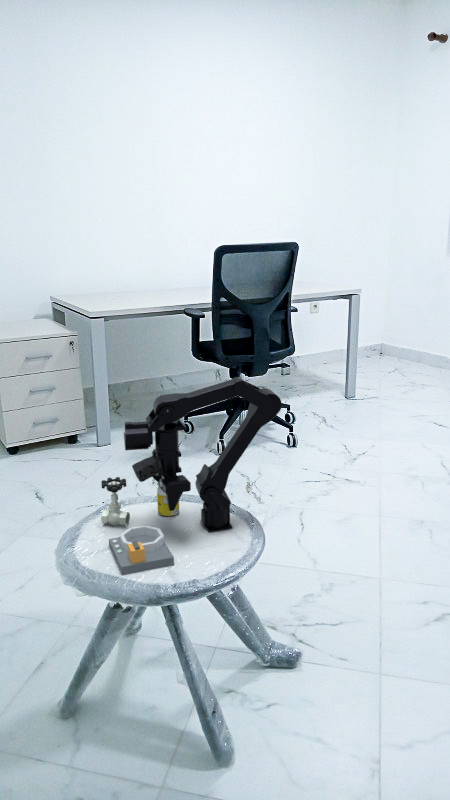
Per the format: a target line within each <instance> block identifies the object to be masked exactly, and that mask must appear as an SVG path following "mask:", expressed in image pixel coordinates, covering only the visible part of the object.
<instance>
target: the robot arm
mask: <svg viewBox="0 0 450 800" xmlns="http://www.w3.org/2000/svg"><path fill="white" fill-rule="evenodd" d="M238 397H240V398H241V399H244V400H245V401H247V403H249V404H248V408H247V411H246V415H245V418H244V419H243V421H242V423H240V424H239V427H238V428H237V429H236V431H235V432H234V434H233V436H232V437H231V438H230V439H229V441H228V442H227V444H226V446H225V447H224V449H223V450H222V452H221V453H220V454H219V456H218V458H217V459H216V461H215V462H214V463H212V464H211V465H209V466H208V465H207V464H206V463H205V464H203V466H202V467H201V469H200V471H199V472H198V474H196V475H195V477H196V480H195V489H196V491H197V493H198V496H199V497H200V500H201V501H202V508H201V509H200V516H201V518H200V523H201V525H202V526H203V527H204V528H205V529H206V531H207V532H208V533H212V532H219V531H224V530H228V529H229V530H230V529H233V525H232V524H231V518H230V517H231V505H232V504H231V503H232V501H231V499H230V497H229V496H228V494H227V492H226V490H225V489H226V487H227V485H228V479H229V475H230V474H231V472H232V470H233V469H234V468H235V466H236V464H237V463H238V462H239V460H240V459H241V457H242V456H243V454H244V453H245V451H246V450H247V449H248V447H249V446H250V444H251V443H252V441H253V439H254V438H255V437H256V435H257V434H258V433H259V431H260V429H261V428H262V427H264V426H265V425H267V424H269V423H270V422H271V421H272V420H273V419H274V418H275V417H276V416H277V415H278V414H279V413H280V412H281V410H282V408H283V404H282V400H281V397H279V396H278V395H277V394H276V393H275V392H274V391H273V390H271V389H270V388H268V387H267V388H266V387H263V388H260V387H259V386H256V385H255V384H253V383H250V382H248V381H245V380H244V379H243V378H242V377H239V376H235V377H233V378H231V379H229V380H226V381H222V382H219V383H215V384H212V385H210V386H207V387H204V388H199V389H197V390H194V391H189V392H185V393H182V392H181V393H179V392H177V393H176V392H175V393H168V394H161V395H159V396H157V397H156V399H155V400H154V401H153V405H152V407H153V408H152V409H151V411H150V412H149V414H148V415H147V417H145V421H125V422H124V432H123V441H124V451H126V452H127V451H139V450H149V448H151V447H152V445H154V444H155V445H154V446H155V449H154V448H153V450H152V451H151V453H152V454H151V456H149V457H146V458H144V459H142V460H140V461H137V462H136V463H133V464H132V465H131V467H132V470H133V473H134V474H135V477H136V478H137V479H138V480H137V481H139V482H140V483H143V482H145V481H147V480H149V479H151V478H153V479H154V480H155V481H157V485H158V488H159V487H160V478H162V477H163V480H162V487H160V488H161V489H162V491H163V492H165V493H166V496H167V501H168V506H169V510H170V511H173V510H174V509H175V507H176V505H177V503H178V501H179V502H180V499H181V496H182V495H183V493H185V492H190V491H191V490H192V488H191V487H192V485H191V483H192V482H191V481H190V480H189V479H188V478H187V477H186V476H185V475H183V474H180V473H183V472H182V471H183V470H182V467H181V466H180V458H181V457H182V452H181V451H180V450H179V449H180V447H179V431H185V430H187V426H186V424H185V422H182V421H181V419H182V418H184V417H186V416H187V415H188V414H190V413H191V412H193V411H195V410H198V409H202V408H204V407H207V406H211V405H214V404H218V403H221V402H224V401H227V400H230V399H233V398H238ZM153 434H154V437H153Z"/></svg>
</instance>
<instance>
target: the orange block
mask: <svg viewBox="0 0 450 800" xmlns="http://www.w3.org/2000/svg"><path fill="white" fill-rule="evenodd" d="M128 557H129V559H130V561H131V563H132V564H133V563H139V562H144V561H145V549H144V547H143V545H142V543H141V542H137V541H132V544H128Z"/></svg>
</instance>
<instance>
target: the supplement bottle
mask: <svg viewBox="0 0 450 800" xmlns="http://www.w3.org/2000/svg"><path fill="white" fill-rule="evenodd" d="M162 480H163V477H162V478H160V487H162ZM160 487H159V486H158V488H157V490H156V496H157V497H156V498H157V516H158V517H159V519H163V520H174V519H177V518H178V517H179V516H180V500H179V501H178V503H177V505H176V507H175V509H174V510H173V511H170V510H169V506H168V501H167V496H166V493H165V492H163V491H162V489H161V488H160Z"/></svg>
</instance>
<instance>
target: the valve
mask: <svg viewBox="0 0 450 800" xmlns="http://www.w3.org/2000/svg"><path fill="white" fill-rule="evenodd" d="M106 479H107V480H106ZM106 479H104V480H103V479H102V480H101V482H100V483H101V489H103V490H104V489H105V488H106V491H107V492H110V493H111V494H110V500H111V502H110V503H109V504H108V506H109V507H108V508H109V509H103V510H102V511H101V514H100V515H101V516H100V521H101V523H102V524H108V525H111V526H113V527H115V526H116V527H117V526H121V525H122V526H129V524H130V521H131V514H130V513H131V512H129V511H122V510H121V508H122V504H121V502H119V494H118V492H119V491H121V490H122V489H123V488H126V487H127V479H126V478H122V479H121V477H120V476H116V477H115V478H112V477H107V478H106Z"/></svg>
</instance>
